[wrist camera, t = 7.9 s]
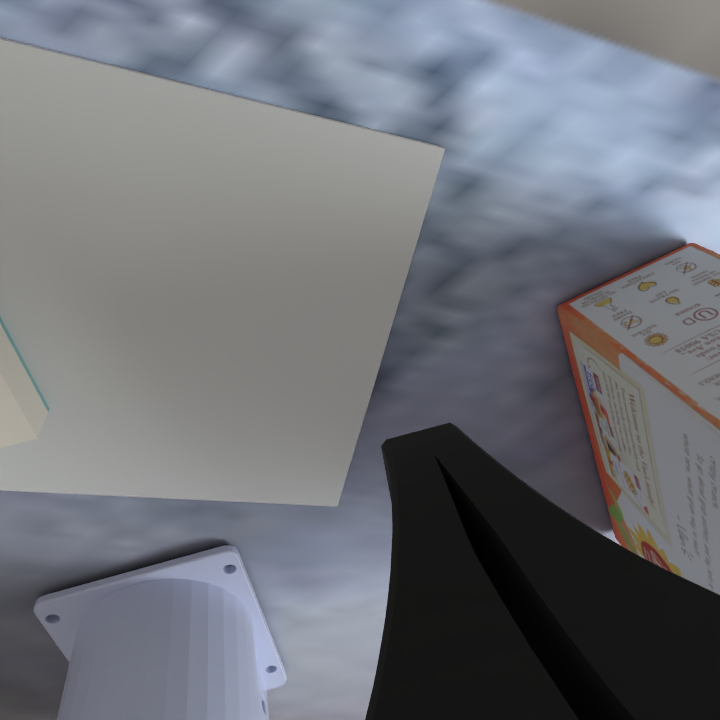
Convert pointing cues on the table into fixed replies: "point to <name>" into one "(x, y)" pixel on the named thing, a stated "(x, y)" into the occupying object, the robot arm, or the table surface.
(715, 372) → the cracker box
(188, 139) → the mat
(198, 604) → the robot arm
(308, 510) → the table surface
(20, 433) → the tile
